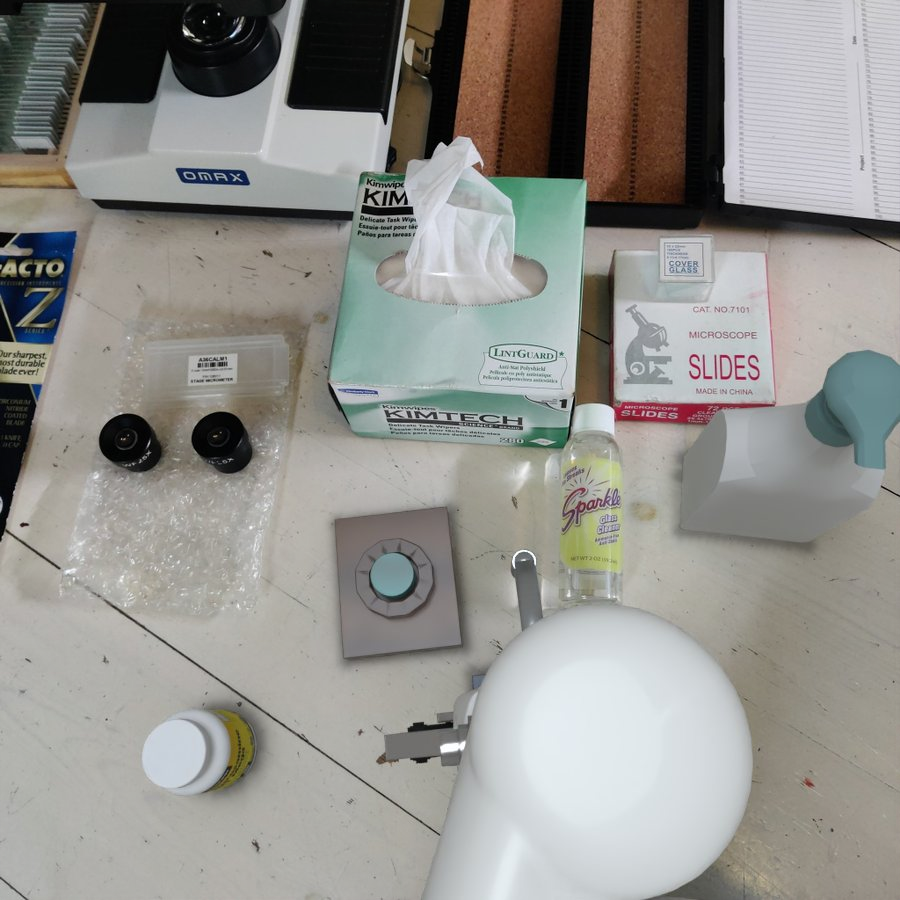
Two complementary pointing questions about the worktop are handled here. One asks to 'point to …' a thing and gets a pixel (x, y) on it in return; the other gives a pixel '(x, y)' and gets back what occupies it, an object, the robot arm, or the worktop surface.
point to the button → (393, 575)
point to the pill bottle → (199, 751)
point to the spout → (527, 587)
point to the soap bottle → (795, 457)
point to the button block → (419, 612)
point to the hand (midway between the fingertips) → (547, 725)
